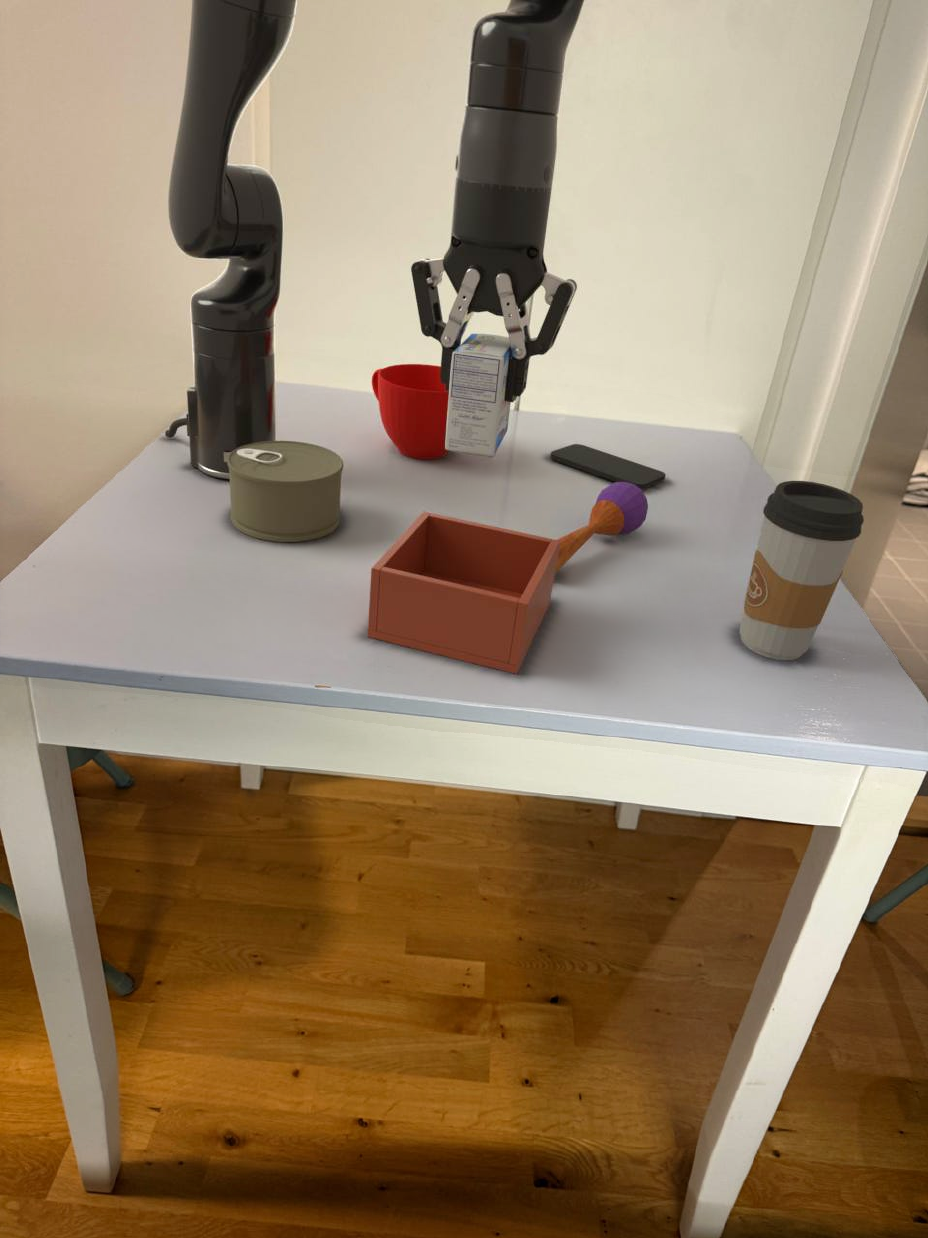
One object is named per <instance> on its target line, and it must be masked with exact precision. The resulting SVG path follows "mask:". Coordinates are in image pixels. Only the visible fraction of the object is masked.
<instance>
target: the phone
mask: <svg viewBox="0 0 928 1238" xmlns="http://www.w3.org/2000/svg"><path fill="white" fill-rule="evenodd" d="M549 457H550V459H551V460H553V461H554V462H555V461H556V462H559V463H561V464H564V465H567V466H569V467H573V468H576V469H578V470H581V471H583V472H587V473H589V474H592V475H595V476H598V477H601V478H603V479H605V480H609V481H612V482H614V483H615V482H627V483H631V484H634V485H636V486H637V487H638V488H640V489H641V490H644V489H648V488H650V487H652V486H654V485H656V484H659V483H661V482H663V481H665V479H666V473H665V472H664V471H662V470H659V469H656V468H653V467H649V466H646V465H644V464H640V463H638V462H634V461H632V460H630V459H627V458H623V457H620V456H617V455H614V454H611V453H608V452H606V451H602V450H599V449H596V448H593V447H590V446H587V445H584V444H580V443H574V444H569V445H567V446H564V447H561V448H558V449H555V450H553V451H551V452H550V456H549Z"/></svg>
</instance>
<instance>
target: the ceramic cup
mask: <svg viewBox="0 0 928 1238" xmlns="http://www.w3.org/2000/svg"><path fill="white" fill-rule="evenodd" d="M440 371H441V365H434V364H423V363H421V364H420V363H403V364H393V365H389V366H386V367H382V368H378V369H376V370H374V371H373V373H372V376H371V387H372V391H373V393H374V396H375V398H376V401H378V407H379V415H380V418H381V423H382V426H383V428H384V431H385V432H386V435H387V436H388V438H389V439H390V441H391V442H392V443H393V444H394V446H395V447H396V448H397V450H398V452H399V453H401V454H402V455H404V456H406V457H410V458H414V459H419V460H436V459H440V458H443V457H445V456H447V454H448V453H449V452H450V451H448V450H446V449H445V441H446V424H447V412H448V399H449V391H446V384H443V383H441V379H440Z"/></svg>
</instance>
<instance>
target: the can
mask: <svg viewBox="0 0 928 1238" xmlns="http://www.w3.org/2000/svg"><path fill="white" fill-rule="evenodd" d="M227 464H228V467H229V474H230V479H229V492H230V493H229V494H230V496H229V497H230V511H231V513H230V520H231V523H232V525H233V527H234V528H236V530H238V531H239V532H240V533H243V534H244V535H247V536H249V537H252V538H255V539H258V540H263V541H269V542H276V543H300V542H308V541H313V540H316V539H320V538H323V537H326V536H328V535H331V533H333V532H334V531H336V529H337V528H338V527H339V525H340V512H341V511H340V510H341V491H342V490H341V489H342V487H341V486H342V473H343V469H344V461H343V458H342V457H341V456H340V455H339V454H337V453H336V452H335V451H333V450H331V449H329V448H327V447H324V446H320V445H317V444H314V443H308V442H302V441H293V440H276V441H264V442H257V443H252V444H248V445H244V446H241V447H239V448H237V449H235V450H233V451H232V452H231V453H230V454H229V455H228V458H227Z"/></svg>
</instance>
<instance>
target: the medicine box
mask: <svg viewBox="0 0 928 1238" xmlns="http://www.w3.org/2000/svg"><path fill="white" fill-rule="evenodd" d="M512 356H513V355H512V350H511V345H510V340H509V336H505V335H499V334H489V333H470V335H469V336H468V337H467V338H466V339H464V341H463V342H461V345H460V346H459V347H458V348H457V349H456V350H455V351H454V352H453V354H452V361H451V371H450V384H449V399H448V412H447V424H446V441H445V449H446V450H448V451H449V452H454V453H460V454H465V455H473V456H479V457H480V456H481V457H486V458H491V459H493V458H494V456H495V455H496V453H497V451H498V449H499V447H500V446H501V443H502V442H503V440H504V438H505V436H506V434H507V432H508V428H509V419H510V413H511V403H512V402H507V401H505V400H504V399H505V389H506V381H507V373H508V364H509V358H511V357H512Z"/></svg>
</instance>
